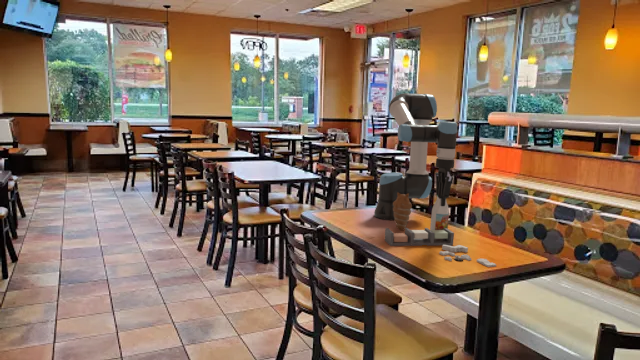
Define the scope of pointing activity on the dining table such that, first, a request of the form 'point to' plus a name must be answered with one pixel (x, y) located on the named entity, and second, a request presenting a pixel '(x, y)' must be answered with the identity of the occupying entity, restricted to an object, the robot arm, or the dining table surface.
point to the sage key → (440, 234)
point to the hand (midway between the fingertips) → (440, 212)
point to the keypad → (419, 242)
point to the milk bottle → (439, 217)
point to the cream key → (420, 234)
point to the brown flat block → (400, 237)
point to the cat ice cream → (402, 210)
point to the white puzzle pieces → (463, 249)
